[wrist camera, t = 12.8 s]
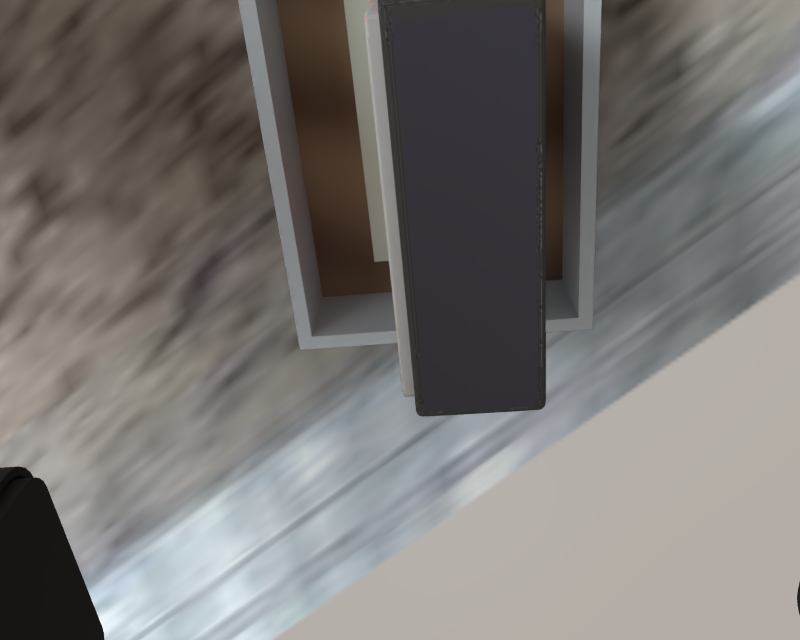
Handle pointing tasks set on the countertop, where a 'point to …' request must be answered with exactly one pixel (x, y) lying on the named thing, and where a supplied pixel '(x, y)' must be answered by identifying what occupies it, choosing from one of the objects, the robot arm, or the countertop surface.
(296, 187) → the grey tray
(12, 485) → the robot arm
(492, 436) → the countertop surface
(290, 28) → the pen board
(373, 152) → the mat
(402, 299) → the tall charcoal block
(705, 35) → the countertop surface
